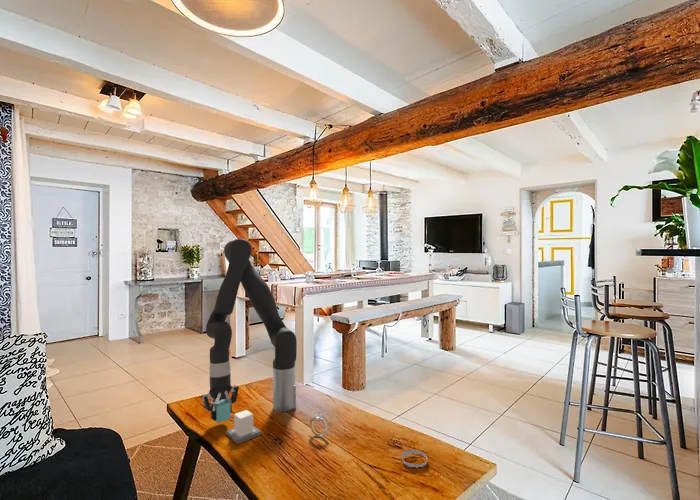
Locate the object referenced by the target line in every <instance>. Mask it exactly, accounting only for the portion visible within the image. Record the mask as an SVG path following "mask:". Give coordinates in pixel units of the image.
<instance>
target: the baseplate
mask: <svg viewBox="0 0 700 500" xmlns="http://www.w3.org/2000/svg"><path fill="white" fill-rule="evenodd" d="M225 433H226V435H227V436H228V437H229V438H230V439H231V438H232V439H233V440H232V439H231V440H232V441H234V442H235V443H236V444H237V445H238V444H241V443H242V442H243V441H244V442H245V441H248V440H251V439H253V438H257V437H259V436H261V435H262V430H260V429H258V428H257V426H254V425H253V431H252V432H249V433H246V434H244V435H241V436H240V435H239V434H238V433H236V432H235V431H234V427H233V428H231V429H228V430H226V432H225Z"/></svg>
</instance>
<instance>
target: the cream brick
mask: <svg viewBox="0 0 700 500" xmlns="http://www.w3.org/2000/svg"><path fill="white" fill-rule="evenodd" d="M253 426H254V414H253V413H252V412H250V410H247V409H245V410H242V411H240V412H236V413H234V414H233V428H234V431H235V432H236V433H238V434H239V435H240V436H241V435H244V434H246V433H249V432H252V431H253Z"/></svg>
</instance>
